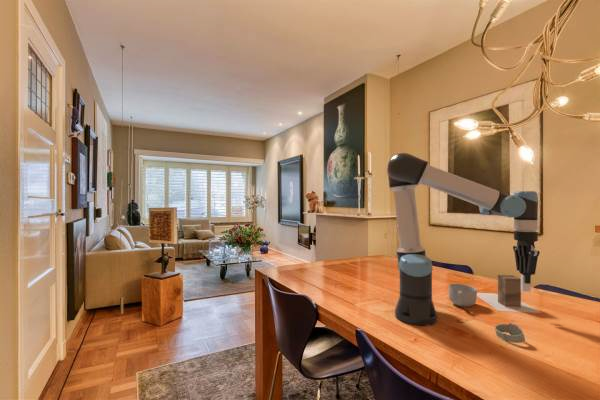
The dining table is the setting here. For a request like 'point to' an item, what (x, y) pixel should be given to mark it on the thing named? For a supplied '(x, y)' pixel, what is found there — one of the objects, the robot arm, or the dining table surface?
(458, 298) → the teacup
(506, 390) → the dining table surface
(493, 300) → the mat
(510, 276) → the walnut block
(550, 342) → the dining table surface
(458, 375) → the dining table surface
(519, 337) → the wristwatch
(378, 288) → the dining table surface
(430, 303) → the robot arm
